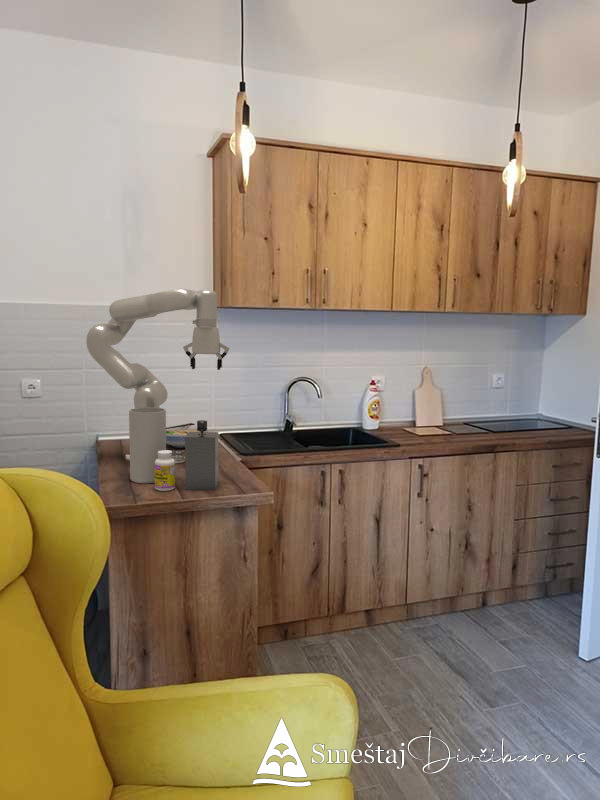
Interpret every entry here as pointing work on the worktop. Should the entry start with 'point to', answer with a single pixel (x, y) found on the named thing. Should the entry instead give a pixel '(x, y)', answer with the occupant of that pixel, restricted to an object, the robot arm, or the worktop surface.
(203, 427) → the plunger
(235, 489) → the worktop surface
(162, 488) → the supplement bottle
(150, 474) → the cylinder vase
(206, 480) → the tall grey rectangular prism
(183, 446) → the ramen bowl
